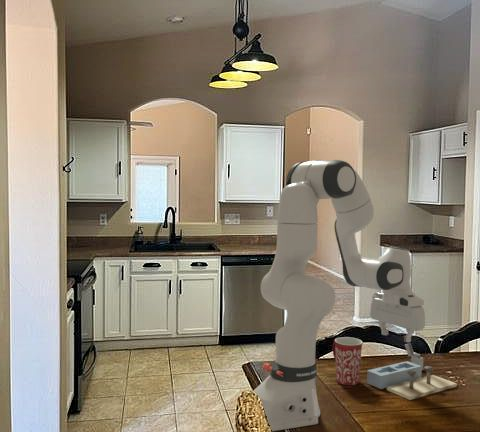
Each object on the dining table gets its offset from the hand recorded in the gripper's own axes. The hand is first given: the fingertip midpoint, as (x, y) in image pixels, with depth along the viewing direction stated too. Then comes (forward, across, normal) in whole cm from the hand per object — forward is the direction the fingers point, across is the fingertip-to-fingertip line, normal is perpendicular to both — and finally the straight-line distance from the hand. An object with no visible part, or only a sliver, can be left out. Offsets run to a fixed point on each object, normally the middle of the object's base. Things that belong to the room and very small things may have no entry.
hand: (395, 338), depth 167 cm
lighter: (+14, -6, +16) cm, 23 cm away
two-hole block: (+14, 0, 0) cm, 14 cm away
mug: (+14, -9, -14) cm, 22 cm away
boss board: (+14, +9, +2) cm, 17 cm away
